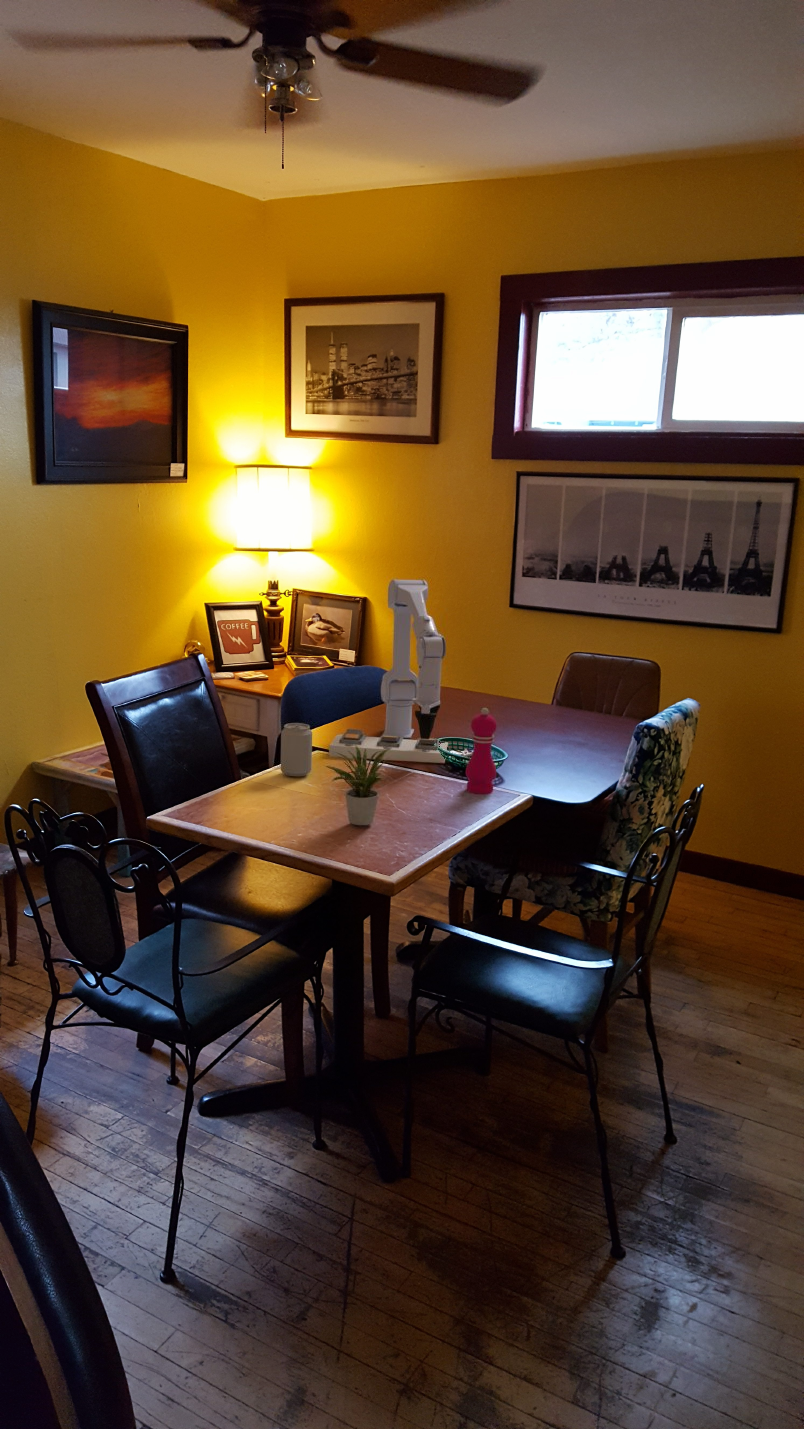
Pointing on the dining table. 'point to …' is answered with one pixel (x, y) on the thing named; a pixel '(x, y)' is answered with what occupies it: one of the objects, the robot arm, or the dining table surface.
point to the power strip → (399, 751)
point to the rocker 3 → (428, 741)
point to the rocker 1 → (353, 734)
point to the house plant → (361, 787)
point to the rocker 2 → (389, 738)
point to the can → (296, 749)
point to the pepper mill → (482, 755)
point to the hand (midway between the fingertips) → (426, 735)
